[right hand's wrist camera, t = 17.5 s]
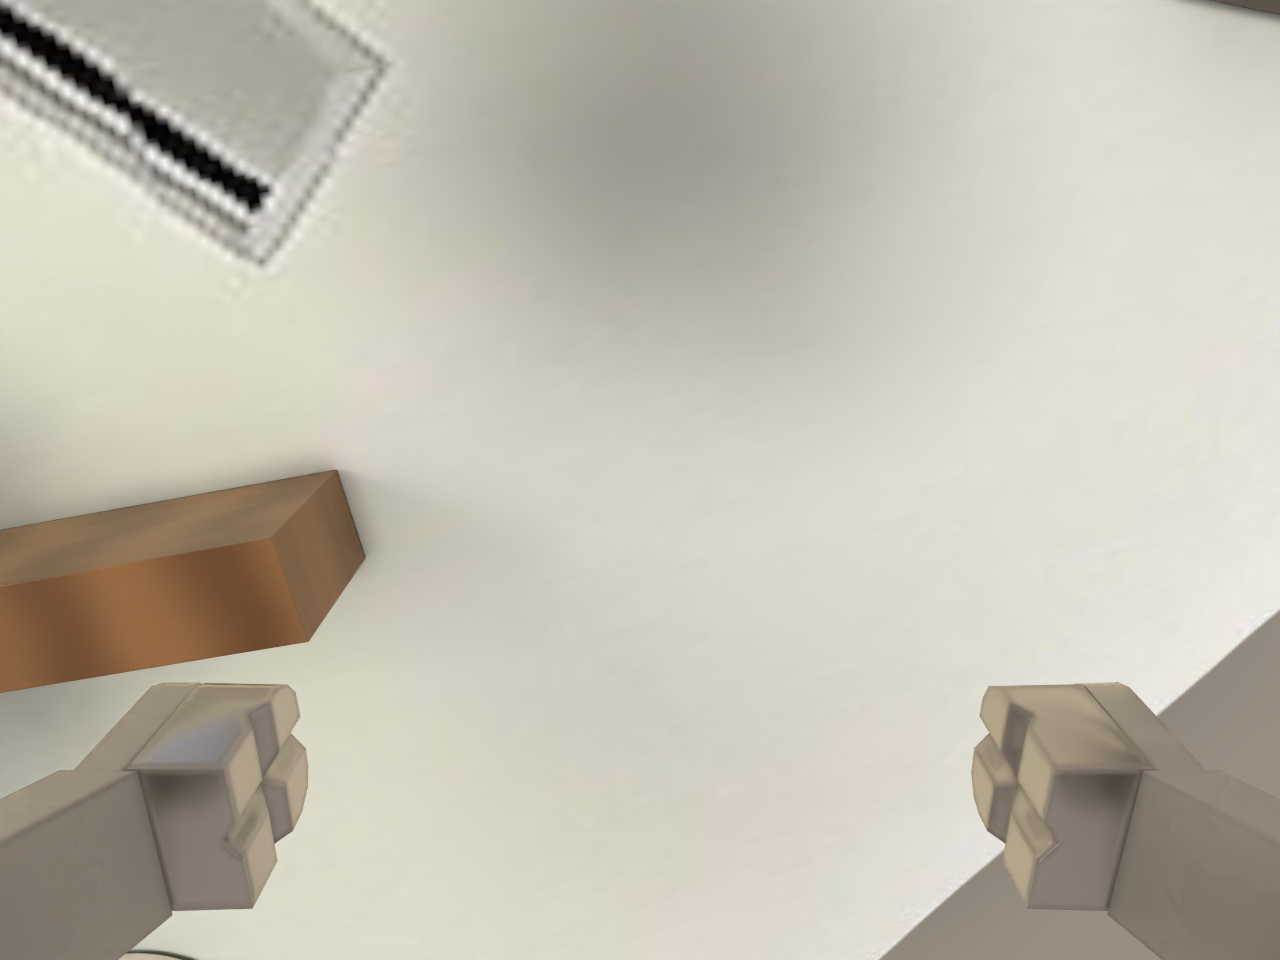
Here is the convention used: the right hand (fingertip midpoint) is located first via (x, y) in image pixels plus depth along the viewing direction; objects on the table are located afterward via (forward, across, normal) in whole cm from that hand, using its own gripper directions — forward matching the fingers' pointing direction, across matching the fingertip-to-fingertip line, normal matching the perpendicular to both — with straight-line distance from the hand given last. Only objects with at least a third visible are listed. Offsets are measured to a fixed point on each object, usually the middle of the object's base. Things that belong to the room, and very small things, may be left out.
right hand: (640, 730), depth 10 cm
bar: (+36, -27, -14) cm, 47 cm away
